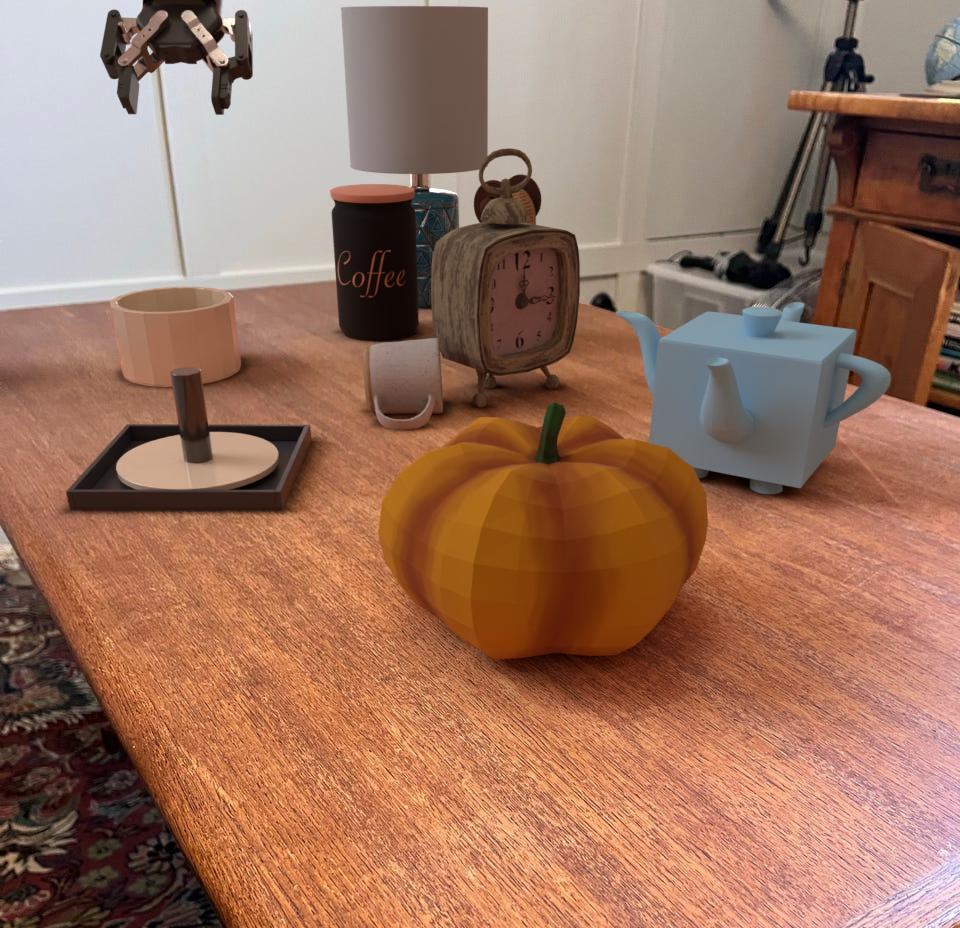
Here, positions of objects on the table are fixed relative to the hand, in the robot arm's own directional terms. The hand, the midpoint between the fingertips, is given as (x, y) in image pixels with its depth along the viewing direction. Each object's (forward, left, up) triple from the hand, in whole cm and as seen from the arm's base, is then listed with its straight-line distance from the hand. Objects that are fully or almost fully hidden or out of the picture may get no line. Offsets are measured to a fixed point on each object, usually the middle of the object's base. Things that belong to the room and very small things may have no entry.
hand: (173, 108), depth 98 cm
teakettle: (+53, -21, -29) cm, 64 cm away
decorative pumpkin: (+34, -49, -29) cm, 66 cm away
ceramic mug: (+22, -6, -29) cm, 37 cm away
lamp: (+21, +46, -29) cm, 59 cm away
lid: (+4, -23, -28) cm, 36 cm away
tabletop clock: (+32, +2, -29) cm, 43 cm away
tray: (+4, -23, -29) cm, 37 cm away
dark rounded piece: (+33, +23, -29) cm, 50 cm away
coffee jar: (+16, +28, -29) cm, 43 cm away
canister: (-6, +10, -29) cm, 31 cm away
